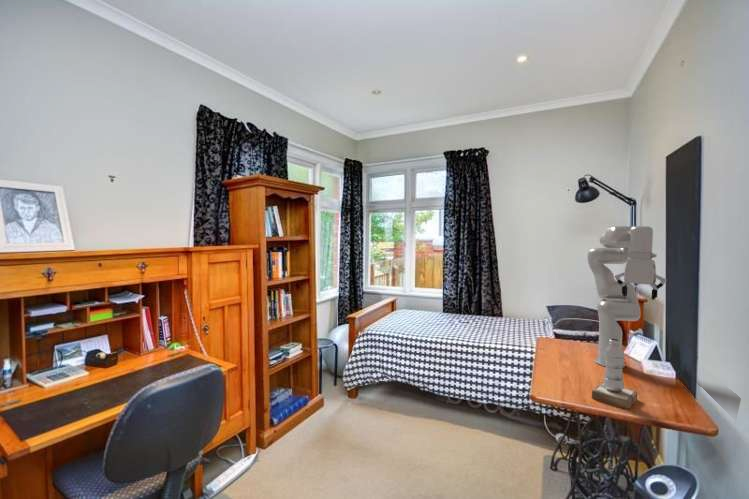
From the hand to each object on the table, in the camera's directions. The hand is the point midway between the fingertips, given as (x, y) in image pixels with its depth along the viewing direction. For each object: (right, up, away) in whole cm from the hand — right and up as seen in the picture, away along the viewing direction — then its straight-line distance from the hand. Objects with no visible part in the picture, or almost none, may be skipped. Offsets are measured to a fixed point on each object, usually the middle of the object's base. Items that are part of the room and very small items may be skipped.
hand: (638, 297), depth 146 cm
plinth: (-16, -39, -8) cm, 42 cm away
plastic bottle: (-16, -36, -8) cm, 40 cm away
